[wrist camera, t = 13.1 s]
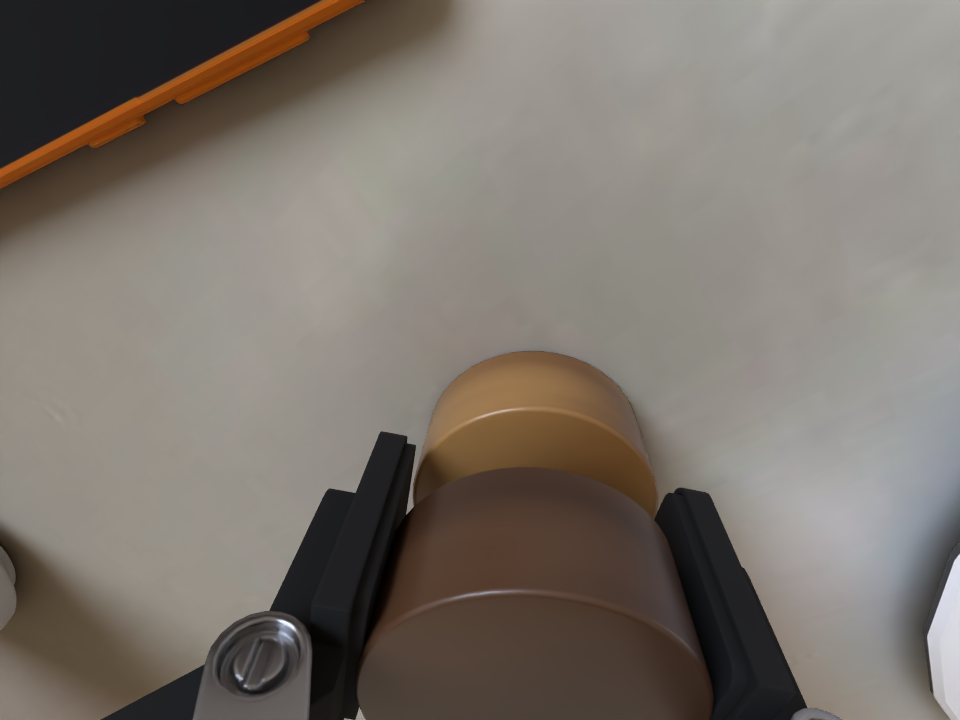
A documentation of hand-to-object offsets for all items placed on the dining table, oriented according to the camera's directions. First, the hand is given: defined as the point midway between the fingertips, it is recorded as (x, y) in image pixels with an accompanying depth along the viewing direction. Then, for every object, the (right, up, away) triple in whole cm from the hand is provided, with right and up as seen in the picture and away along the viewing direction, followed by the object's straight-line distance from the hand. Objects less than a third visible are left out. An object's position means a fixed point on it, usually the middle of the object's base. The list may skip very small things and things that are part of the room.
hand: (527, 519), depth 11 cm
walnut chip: (0, -1, -1) cm, 1 cm away
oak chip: (0, +1, +2) cm, 3 cm away
